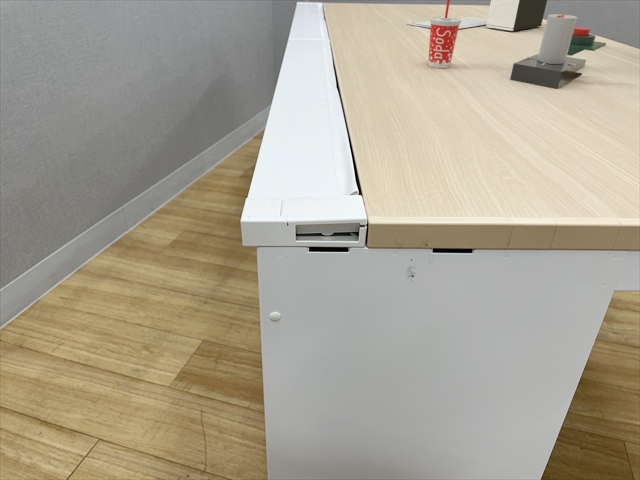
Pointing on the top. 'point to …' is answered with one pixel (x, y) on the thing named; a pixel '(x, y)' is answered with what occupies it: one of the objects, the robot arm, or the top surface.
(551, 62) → the light grey cylinder
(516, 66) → the tap block
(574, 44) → the button box
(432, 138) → the top surface
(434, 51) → the beverage cup
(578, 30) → the stop button
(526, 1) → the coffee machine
